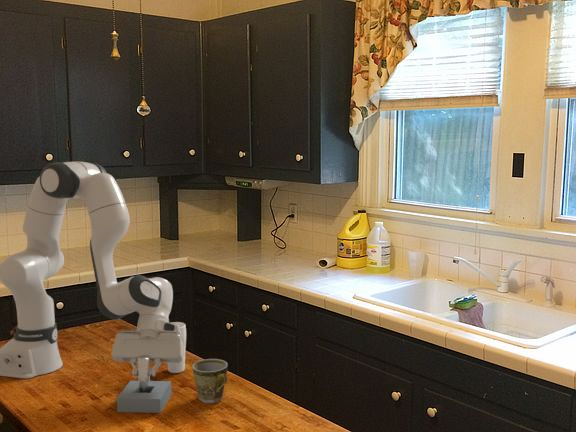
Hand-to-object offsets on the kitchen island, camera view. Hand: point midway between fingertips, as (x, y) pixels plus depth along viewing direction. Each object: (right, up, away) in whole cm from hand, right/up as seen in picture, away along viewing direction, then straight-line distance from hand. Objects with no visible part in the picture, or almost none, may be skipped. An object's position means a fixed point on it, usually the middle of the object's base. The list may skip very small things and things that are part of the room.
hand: (143, 375), depth 180 cm
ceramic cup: (+19, -8, +3) cm, 21 cm away
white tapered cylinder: (+5, -5, +25) cm, 26 cm away
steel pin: (0, -7, +2) cm, 7 cm away
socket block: (0, -8, +2) cm, 8 cm away
